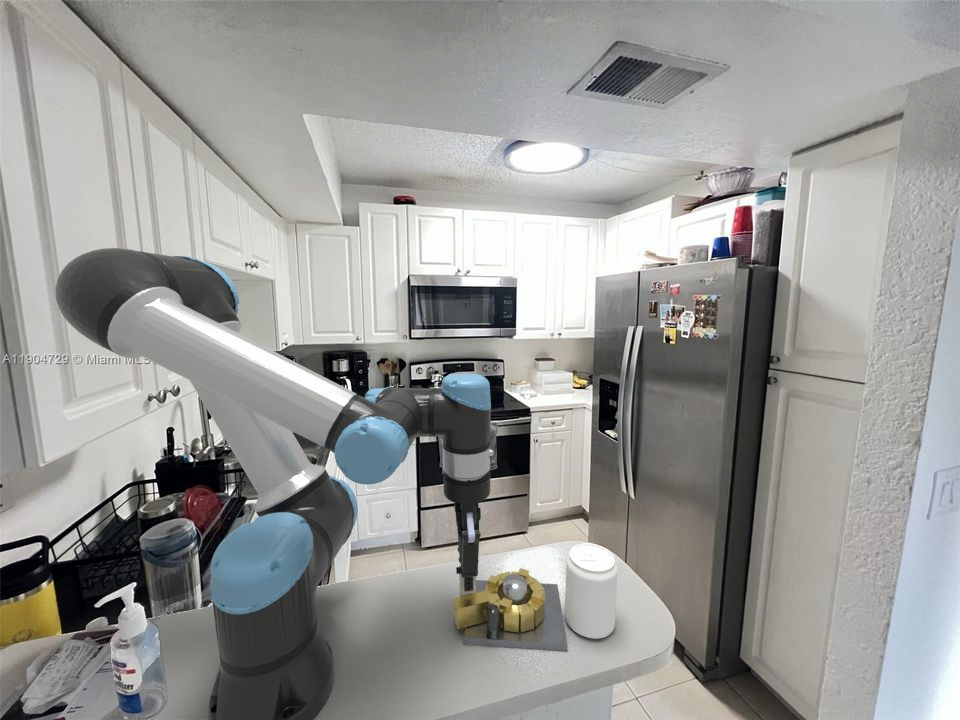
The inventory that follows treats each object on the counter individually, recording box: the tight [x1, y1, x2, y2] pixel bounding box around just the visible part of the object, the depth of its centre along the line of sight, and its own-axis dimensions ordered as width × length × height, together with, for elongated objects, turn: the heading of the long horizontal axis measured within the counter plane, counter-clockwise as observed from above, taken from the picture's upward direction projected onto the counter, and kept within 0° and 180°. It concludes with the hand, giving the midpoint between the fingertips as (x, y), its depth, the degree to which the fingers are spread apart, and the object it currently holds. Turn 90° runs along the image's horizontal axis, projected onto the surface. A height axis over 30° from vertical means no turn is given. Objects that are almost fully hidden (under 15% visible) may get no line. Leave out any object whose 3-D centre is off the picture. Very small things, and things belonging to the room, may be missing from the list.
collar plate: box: [463, 574, 568, 652], centre depth 67 cm, size 16×13×6 cm
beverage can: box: [564, 542, 619, 639], centre depth 65 cm, size 8×8×12 cm
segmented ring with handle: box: [452, 567, 545, 633], centre depth 66 cm, size 16×10×4 cm, turn 109°
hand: (467, 601), depth 67 cm, fingers closed
